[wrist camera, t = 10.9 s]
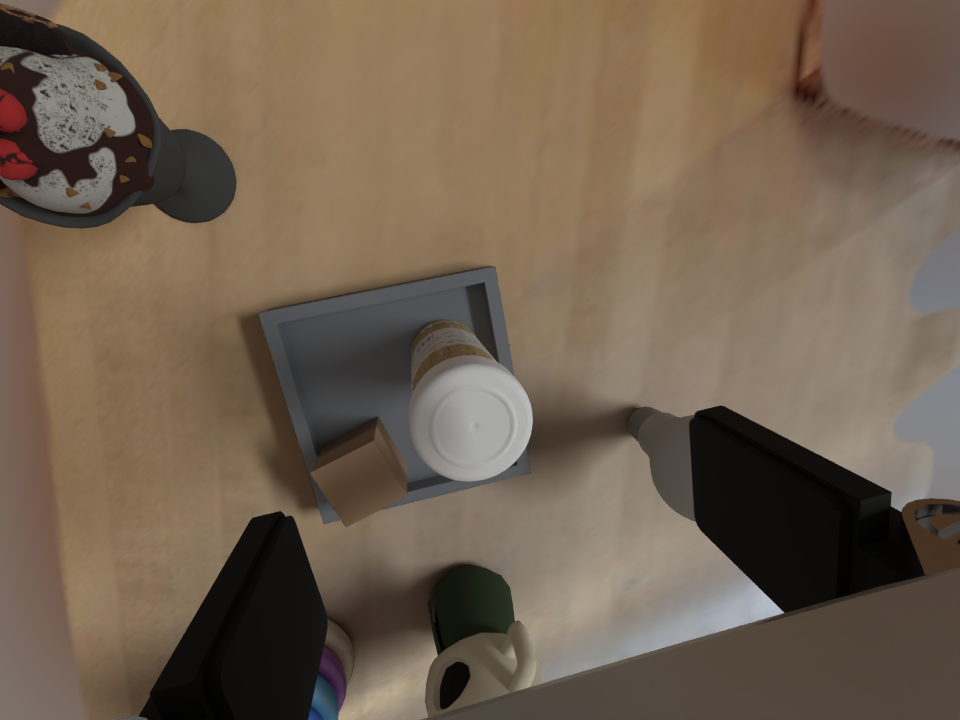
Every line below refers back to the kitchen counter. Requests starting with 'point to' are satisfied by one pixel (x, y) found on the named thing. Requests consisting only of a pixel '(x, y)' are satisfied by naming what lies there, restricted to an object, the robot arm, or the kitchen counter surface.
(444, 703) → the character mug
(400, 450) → the slate tray
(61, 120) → the sundae
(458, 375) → the sprinkles bottle
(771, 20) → the kitchen counter surface
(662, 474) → the lightbulb
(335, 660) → the stacking toy
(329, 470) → the walnut block
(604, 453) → the kitchen counter surface
